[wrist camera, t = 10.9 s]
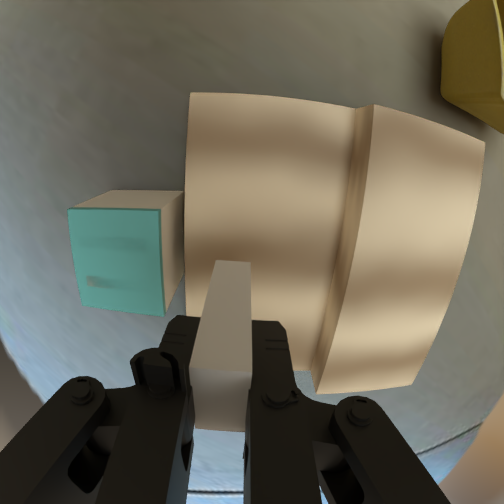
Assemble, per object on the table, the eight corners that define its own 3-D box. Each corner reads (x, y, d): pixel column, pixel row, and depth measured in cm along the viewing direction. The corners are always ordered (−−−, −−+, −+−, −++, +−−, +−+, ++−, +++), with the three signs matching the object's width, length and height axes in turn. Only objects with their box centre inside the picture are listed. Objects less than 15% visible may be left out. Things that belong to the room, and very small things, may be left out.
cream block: (158, 211, 13) (184, 190, 19) (67, 209, 13) (112, 189, 19) (164, 316, 16) (184, 271, 21) (82, 305, 15) (117, 266, 21)
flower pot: (421, 15, 13) (489, -19, 5) (493, 60, 14) (561, 53, 6) (417, 108, 17) (503, 102, 8) (490, 144, 17) (565, 160, 9)
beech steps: (200, 101, 17) (179, 83, 11) (433, 137, 17) (485, 142, 12) (196, 336, 23) (184, 388, 18) (385, 340, 24) (411, 384, 18)
